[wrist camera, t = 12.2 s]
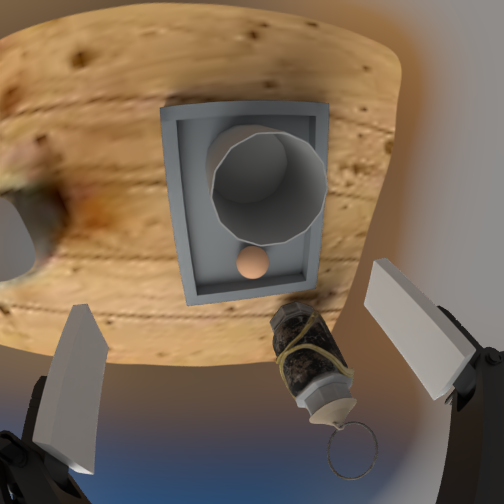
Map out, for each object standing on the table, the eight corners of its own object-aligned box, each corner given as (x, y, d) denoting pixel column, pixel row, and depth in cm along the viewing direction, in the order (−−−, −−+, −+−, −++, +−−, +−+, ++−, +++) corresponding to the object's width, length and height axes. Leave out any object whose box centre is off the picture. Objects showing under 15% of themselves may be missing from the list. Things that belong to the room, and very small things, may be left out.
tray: (186, 294, 34) (186, 306, 32) (162, 107, 24) (159, 107, 22) (309, 278, 37) (315, 288, 35) (319, 103, 26) (329, 103, 24)
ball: (234, 269, 33) (239, 287, 30) (233, 242, 31) (238, 258, 28) (264, 265, 34) (272, 282, 31) (264, 238, 32) (272, 254, 29)
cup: (286, 122, 26) (330, 131, 17) (286, 198, 30) (325, 238, 22) (201, 127, 25) (204, 137, 16) (208, 206, 29) (216, 252, 20)
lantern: (296, 344, 43) (355, 485, 22) (253, 333, 40) (303, 498, 18) (328, 304, 40) (414, 450, 19) (285, 288, 37) (369, 465, 16)
